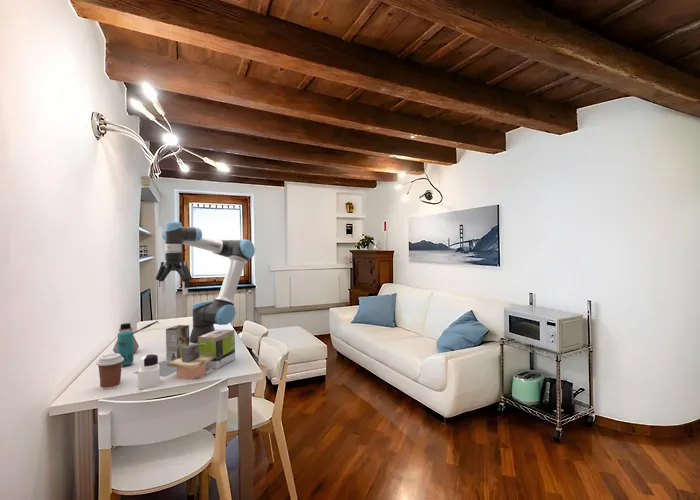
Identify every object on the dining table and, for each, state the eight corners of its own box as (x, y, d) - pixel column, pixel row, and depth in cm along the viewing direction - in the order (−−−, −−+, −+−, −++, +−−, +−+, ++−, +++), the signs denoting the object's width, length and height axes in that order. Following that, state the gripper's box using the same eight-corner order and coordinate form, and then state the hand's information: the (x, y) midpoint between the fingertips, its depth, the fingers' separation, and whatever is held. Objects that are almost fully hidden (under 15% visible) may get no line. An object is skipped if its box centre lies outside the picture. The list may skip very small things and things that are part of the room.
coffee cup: (125, 386, 137) (125, 356, 137) (97, 392, 131) (96, 361, 131) (122, 379, 144) (122, 351, 144) (95, 385, 138) (95, 355, 138)
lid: (188, 356, 157) (188, 341, 157) (213, 358, 153) (213, 342, 153) (166, 366, 144) (166, 349, 144) (193, 368, 141) (193, 351, 141)
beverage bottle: (119, 365, 163) (118, 322, 163) (135, 363, 165) (135, 321, 165) (115, 369, 157) (115, 325, 157) (132, 367, 159) (131, 324, 159)
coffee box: (178, 356, 176) (178, 324, 176) (189, 356, 175) (189, 325, 175) (165, 361, 167) (165, 328, 167) (177, 362, 166) (177, 329, 166)
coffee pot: (114, 357, 174) (114, 328, 174) (111, 352, 183) (111, 324, 183) (161, 349, 188) (161, 322, 188) (156, 345, 197) (156, 319, 197)
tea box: (218, 358, 173) (218, 328, 173) (235, 359, 170) (235, 329, 170) (197, 368, 158) (197, 335, 158) (216, 369, 156) (216, 337, 156)
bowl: (189, 369, 156) (189, 357, 156) (210, 371, 153) (210, 359, 153) (170, 378, 145) (170, 365, 145) (192, 381, 142) (192, 367, 142)
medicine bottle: (159, 381, 142) (159, 352, 142) (159, 387, 136) (159, 356, 136) (139, 384, 139) (139, 354, 139) (138, 390, 133) (138, 359, 133)
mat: (163, 362, 167) (163, 360, 167) (193, 365, 162) (193, 363, 162) (132, 374, 150) (132, 373, 150) (164, 377, 146) (164, 376, 146)
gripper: (147, 252, 175) (147, 294, 175) (188, 252, 168) (189, 295, 168) (159, 252, 182) (159, 292, 182) (199, 252, 176) (199, 293, 176)
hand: (173, 294), depth 175 cm, fingers open, 13 cm apart
